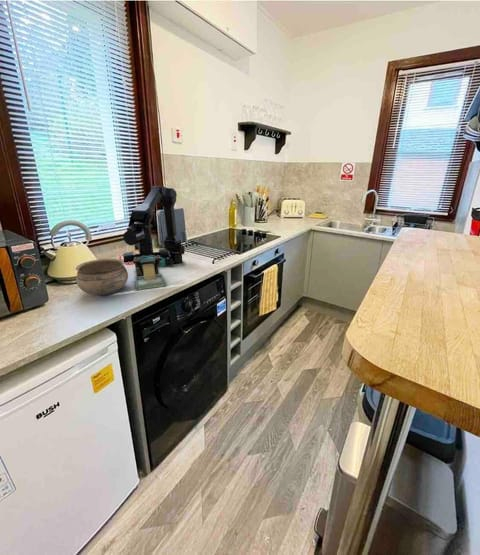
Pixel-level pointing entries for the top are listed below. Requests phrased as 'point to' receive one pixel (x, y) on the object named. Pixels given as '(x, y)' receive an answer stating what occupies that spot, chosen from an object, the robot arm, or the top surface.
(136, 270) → the tape holder
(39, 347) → the top surface
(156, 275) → the tray
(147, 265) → the tape roll
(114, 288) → the brown bowl
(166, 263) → the beverage bottle
